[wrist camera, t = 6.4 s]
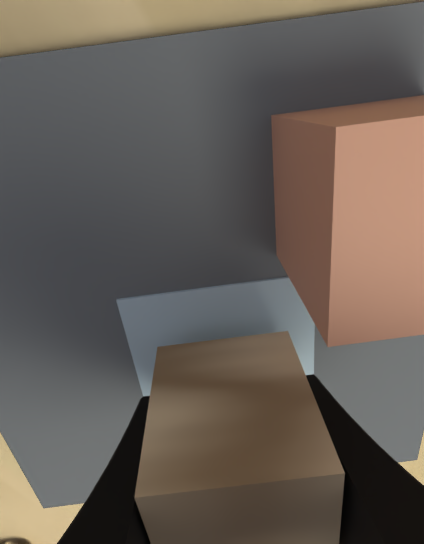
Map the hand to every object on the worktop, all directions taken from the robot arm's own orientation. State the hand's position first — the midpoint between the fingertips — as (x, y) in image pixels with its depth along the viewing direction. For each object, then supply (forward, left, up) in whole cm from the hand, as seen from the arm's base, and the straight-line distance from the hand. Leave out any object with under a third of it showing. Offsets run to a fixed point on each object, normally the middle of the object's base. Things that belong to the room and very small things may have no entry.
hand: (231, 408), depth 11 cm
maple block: (0, 0, -1) cm, 1 cm away
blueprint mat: (0, +2, -3) cm, 3 cm away
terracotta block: (+4, +6, -2) cm, 8 cm away
